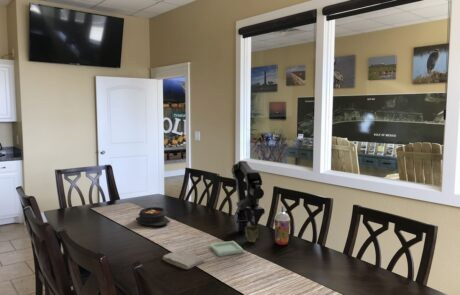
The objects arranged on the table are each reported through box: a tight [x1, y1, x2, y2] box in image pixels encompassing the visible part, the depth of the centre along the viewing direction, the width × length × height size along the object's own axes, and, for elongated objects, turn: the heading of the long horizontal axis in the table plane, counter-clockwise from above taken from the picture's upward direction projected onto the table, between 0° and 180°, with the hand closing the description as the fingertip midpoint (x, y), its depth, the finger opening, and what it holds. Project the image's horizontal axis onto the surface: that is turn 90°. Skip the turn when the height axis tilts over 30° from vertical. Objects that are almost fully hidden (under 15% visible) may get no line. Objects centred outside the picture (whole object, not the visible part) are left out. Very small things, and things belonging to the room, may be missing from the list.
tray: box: [209, 240, 244, 257], centre depth 187 cm, size 13×13×2 cm
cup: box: [244, 225, 260, 243], centre depth 199 cm, size 8×7×8 cm
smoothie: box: [273, 206, 291, 246], centre depth 196 cm, size 8×8×20 cm
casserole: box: [135, 206, 171, 227], centre depth 231 cm, size 25×19×8 cm
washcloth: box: [162, 249, 205, 270], centre depth 174 cm, size 12×18×3 cm, turn 51°
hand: (251, 222), depth 198 cm, fingers open, 9 cm apart
